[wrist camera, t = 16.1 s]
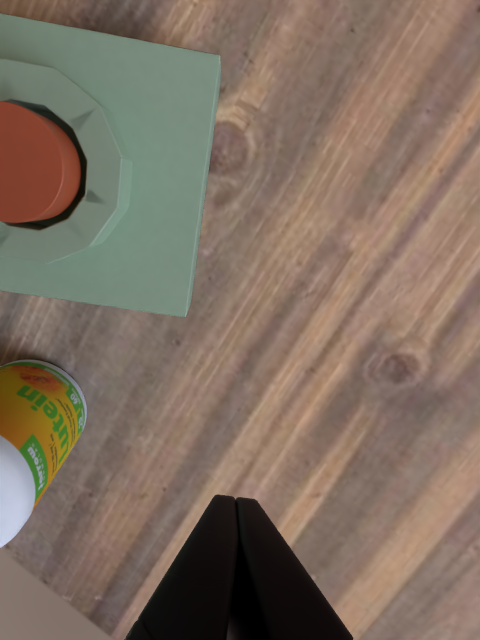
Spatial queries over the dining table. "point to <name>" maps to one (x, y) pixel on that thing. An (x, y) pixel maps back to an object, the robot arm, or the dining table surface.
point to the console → (113, 165)
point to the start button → (35, 166)
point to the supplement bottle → (34, 435)
